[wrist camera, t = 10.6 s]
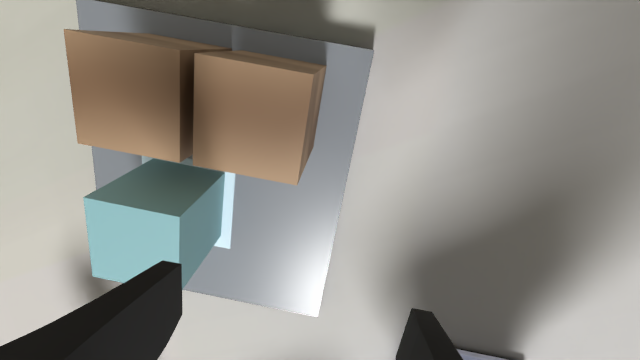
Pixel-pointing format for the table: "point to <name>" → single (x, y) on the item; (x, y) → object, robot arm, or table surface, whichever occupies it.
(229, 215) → the baseplate
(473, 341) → the table surface
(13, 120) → the table surface
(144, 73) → the walnut blocks
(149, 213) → the teal block
